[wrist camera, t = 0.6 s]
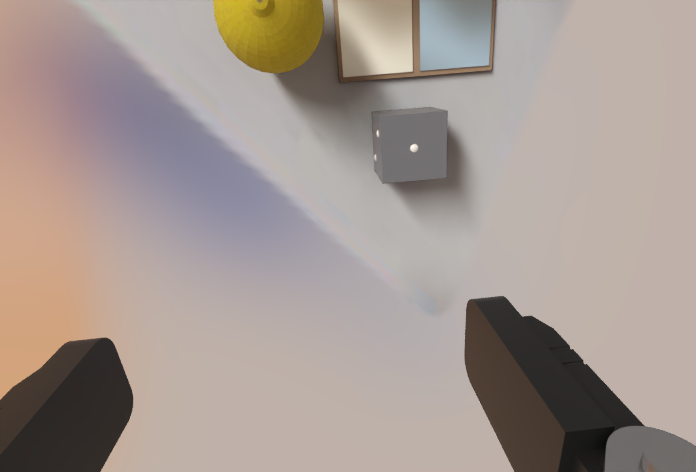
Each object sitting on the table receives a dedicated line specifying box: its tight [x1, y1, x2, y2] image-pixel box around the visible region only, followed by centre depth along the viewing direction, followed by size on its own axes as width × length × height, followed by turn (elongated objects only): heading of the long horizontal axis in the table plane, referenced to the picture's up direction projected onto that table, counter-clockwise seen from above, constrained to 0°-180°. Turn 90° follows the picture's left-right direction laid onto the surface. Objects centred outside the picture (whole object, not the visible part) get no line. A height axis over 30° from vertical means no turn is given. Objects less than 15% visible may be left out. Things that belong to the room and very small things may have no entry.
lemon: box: [213, 0, 324, 73], centre depth 20 cm, size 6×6×8 cm
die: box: [372, 107, 448, 184], centre depth 25 cm, size 4×4×4 cm
